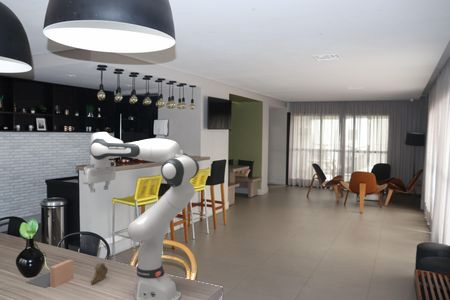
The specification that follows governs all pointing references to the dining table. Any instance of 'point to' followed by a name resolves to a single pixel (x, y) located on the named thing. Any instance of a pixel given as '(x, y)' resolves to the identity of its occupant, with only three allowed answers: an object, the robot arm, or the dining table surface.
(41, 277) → the mat
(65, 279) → the tile
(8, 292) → the dining table surface
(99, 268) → the pottery shard
